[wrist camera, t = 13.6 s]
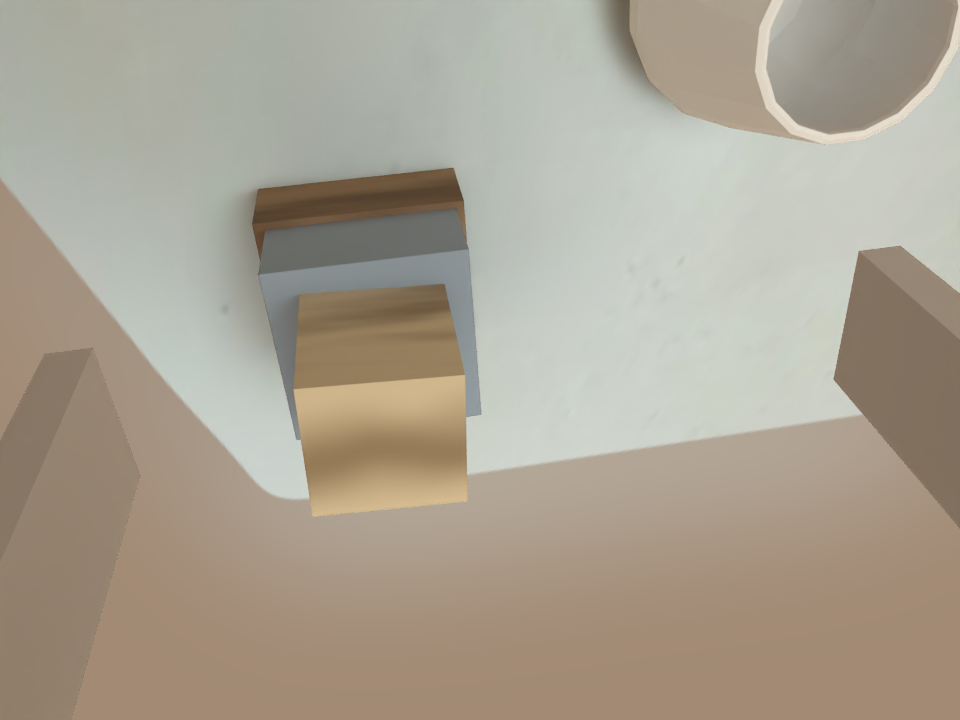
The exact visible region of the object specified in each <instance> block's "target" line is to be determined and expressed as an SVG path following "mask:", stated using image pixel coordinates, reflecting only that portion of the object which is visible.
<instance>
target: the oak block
mask: <svg viewBox="0 0 960 720" xmlns="http://www.w3.org/2000/svg"><path fill="white" fill-rule="evenodd" d="M294 396H295V403H296V410H297V416H298V423H299V430H300V436H301V443H302V450H303V456H304V463H305V470H306V477H307V483H308V490H309V497H310V503H311V510H312V516H313V517H315V516H325V515H334V514H345V513H354V512H364V511H375V510H384V509H394V508H404V507H414V506H423V505H434V504H444V503H454V502H464V501H467V455H466V394H465V372H464V367H463V363H462V359H461V354H460V350H459V345H458V341H457V337H456V332H455V328H454V323H453V319H452V315H451V310H450V306H449V301H448V297H447V293H446V288H445V284H435V285H421V286H407V287H392V288H378V289H364V290H350V291H336V292H322V293H308V294H300V295H299V311H298V327H297V342H296V358H295V373H294Z"/></svg>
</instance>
